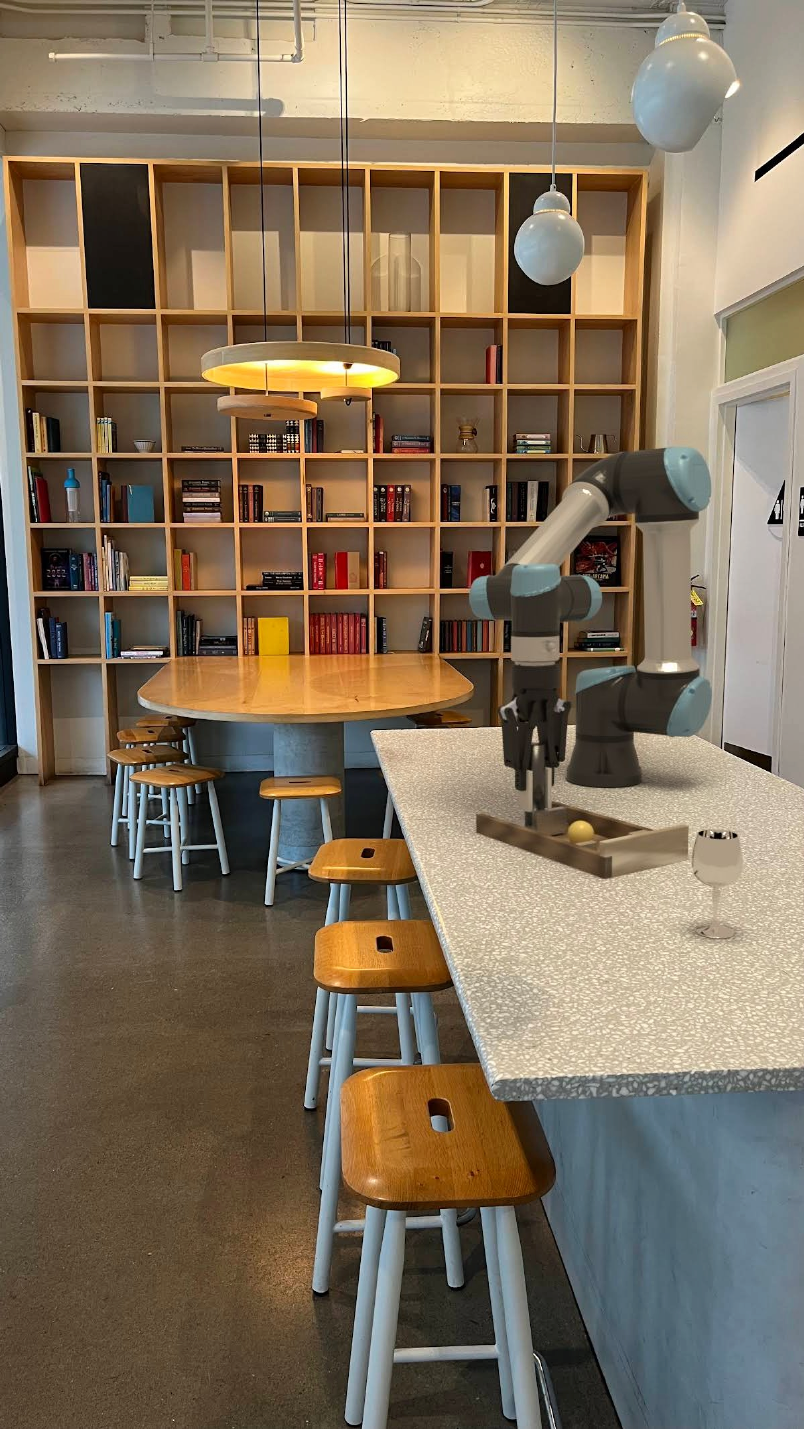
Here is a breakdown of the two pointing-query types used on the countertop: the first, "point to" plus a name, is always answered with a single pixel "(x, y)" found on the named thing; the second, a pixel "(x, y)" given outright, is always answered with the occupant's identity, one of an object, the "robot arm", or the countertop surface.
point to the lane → (596, 843)
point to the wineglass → (716, 870)
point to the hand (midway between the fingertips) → (534, 808)
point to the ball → (580, 832)
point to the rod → (542, 799)
